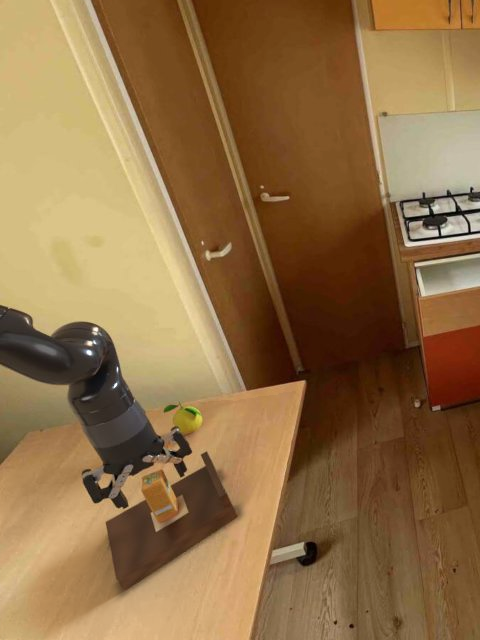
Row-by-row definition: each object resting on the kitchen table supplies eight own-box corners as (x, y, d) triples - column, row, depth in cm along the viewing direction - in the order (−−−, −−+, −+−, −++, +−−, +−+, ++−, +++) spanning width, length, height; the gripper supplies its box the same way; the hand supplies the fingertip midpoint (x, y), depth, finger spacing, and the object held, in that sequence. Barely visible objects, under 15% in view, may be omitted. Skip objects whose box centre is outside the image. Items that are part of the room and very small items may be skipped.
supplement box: (180, 514, 82) (161, 480, 78) (158, 524, 81) (137, 491, 76) (180, 500, 85) (161, 467, 80) (159, 510, 83) (139, 477, 79)
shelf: (125, 590, 74) (106, 566, 71) (114, 534, 83) (97, 510, 80) (237, 516, 86) (226, 493, 83) (217, 473, 95) (206, 450, 91)
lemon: (173, 432, 105) (158, 403, 100) (200, 417, 109) (186, 388, 105) (183, 446, 101) (168, 416, 97) (210, 430, 105) (197, 401, 101)
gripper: (63, 468, 65) (108, 531, 72) (174, 416, 74) (204, 476, 82) (60, 440, 70) (102, 502, 77) (165, 394, 79) (194, 453, 86)
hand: (154, 488), depth 79 cm, fingers open, 8 cm apart
